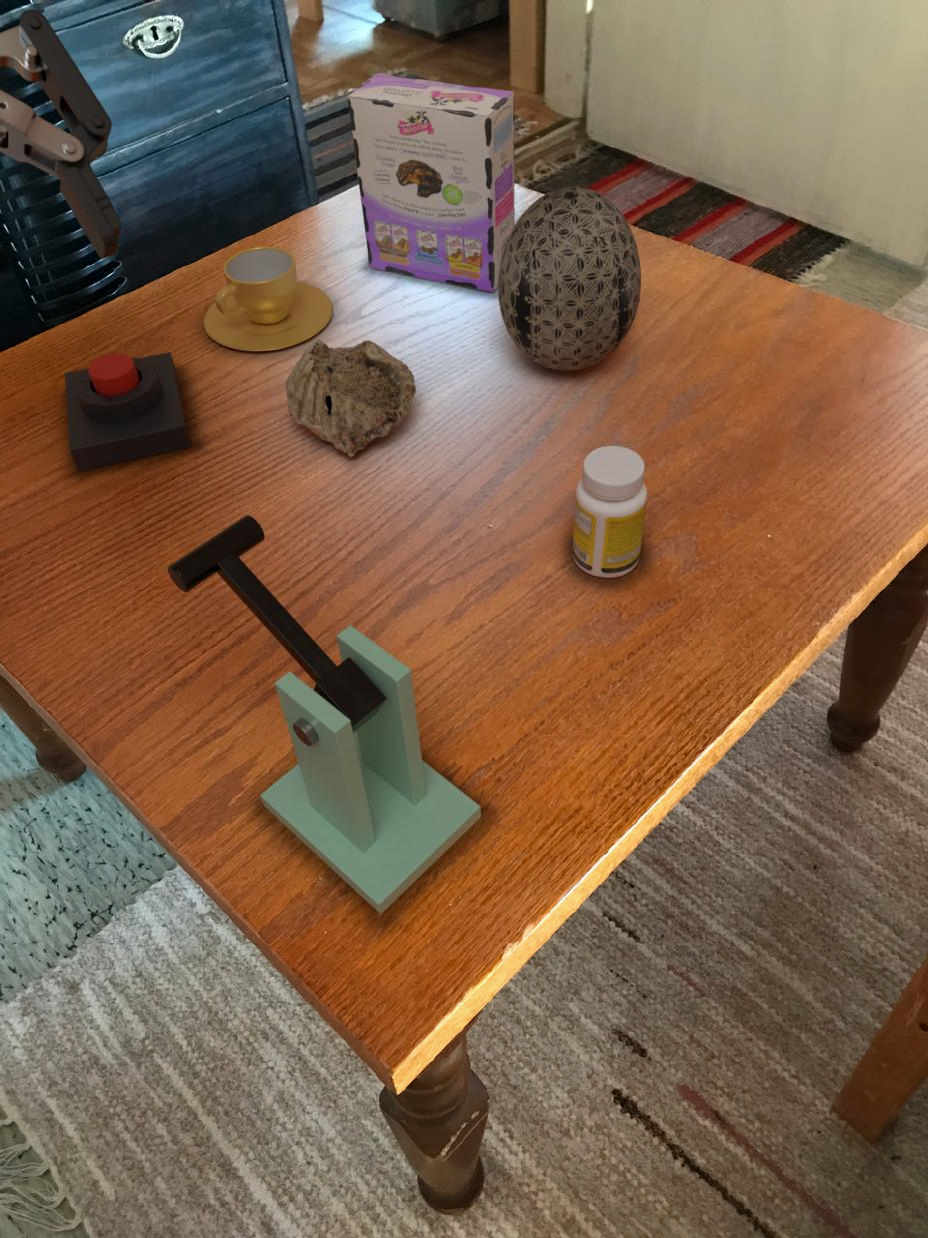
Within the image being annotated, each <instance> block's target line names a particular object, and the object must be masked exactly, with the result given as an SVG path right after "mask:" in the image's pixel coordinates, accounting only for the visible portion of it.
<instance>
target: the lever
mask: <svg viewBox="0 0 928 1238" xmlns="http://www.w3.org/2000/svg"><path fill="white" fill-rule="evenodd" d="M265 538H266V536H265V532H264V529H263V527H262V525H261V524H260V523H259V521H257V520H256V519H255V518H254V517H253V516H252V515H249V514H247V515H244V516H243V517H241V518H240V519H238V520H237V521H235V522H234V523H232V524H231V525H229V526H228V527H226V528H225V529H223V530H221V531H220V532H218V533H217V534H215V535H214V536H212V537H210V538H209V539H207V540H206V541H205V542H203V543H202V544H200V545H199V546H196V547H195V548H194V549H192V550H191V551H190V552H188V553H186V554H185V555H183V556H182V557H180V558H178V559H177V560H176V561H175V562H173V563H171V564H170V565H168V567H167V572H168V575H169V577H170V579H171V580H172V582H173V583H174V585H175V586H176V587H177V588H178V589H179V590H181V591H182V592H183V593H188V592H190V591H192V590H193V589H194V588H197V587H198V586H199V585H200V584H202V583H204V582H205V581H206V580H208V579H210V577H212V576H214V575H215V574H217V575H218V576H219V577H220V578H221V579H222V580H223V581H224V582H225V583H226V584H227V586H228V587H229V588H230V589H231V590H232V592H234V594H235V595H236V596H237V597H238V598H239V599H240V600H241V601H242V603H243V604H244V605H245V606H246V607H247V608H248V609H249V610H250V612H251V613H252V614H253V615H254V616H255V617H256V618H257V619H258V620H259V621H260V623H261V624H262V625H263V626H264V627H265V628H266V629H267V630H268V632H269V633H270V634H271V635H272V636H273V637H274V638H275V640H277V641H278V643H279V644H280V645H281V646H282V647H283V648H284V650H286V652H287V653H288V654H289V655H290V657H292V658H293V660H295V662H296V663H297V664H298V666H300V667H301V668H302V669H303V671H304V672H305V673H306V674H307V675H308V676H309V677H310V678H311V679H312V681H313V682H314V683H315V685H314V687H313V688H312V690H314V691H315V692H316V693H317V694H319V695H320V696H321V697H322V698H324V699H325V700H326V701H327V702H329V703H330V704H331V705H332V706H333V707H335V708H336V709H337V710H338V711H340V712H341V713H342V714H343V715H345V716H346V717H347V718H348V719H350V721H351V726H352V731H353V733H354V732H355V731H357V730H358V729H359V728H360V727H361V726H363V725H364V724H365V723H366V722H367V721H369V720H370V719H371V718H372V717H373V716H374V715H376V714H377V713H378V711H379V710H380V708H381V707H382V705H383V703H384V702H385V700H386V699H387V698H386V697H385V696H384V694H383V693H382V692H381V691H380V690H379V689H378V688H377V687H376V686H375V684H374V683H373V682H372V681H371V680H370V679H369V678H368V677H367V676H366V675H365V673H364V672H363V671H362V670H361V669H360V668H359V667H358V666H357V665H356V663H355V662H354V661H353V660H352V659H351V658H350V657H348V658H347V659H346V660H344V661H343V662H342V661H341V662H340V663H339V664H338V665H337V664H336V663H335V662H334V661H333V660H332V658H330V657H329V656H328V655H327V653H326V652H325V651H324V649H322V648H321V646H320V645H318V643H317V642H316V641H315V640H314V639H313V637H311V636H310V634H309V633H308V632H307V631H306V630H305V629H304V628H303V627H302V626H301V624H299V622H298V621H297V620H296V619H295V618H294V617H293V615H291V613H290V612H289V611H288V610H287V609H286V608H285V606H283V604H282V603H281V602H280V601H279V599H278V598H276V596H275V595H274V594H273V593H272V592H271V591H270V589H268V588H267V587H266V585H264V583H263V582H262V581H261V580H260V579H259V578H258V577H257V576H256V575H255V573H254V572H253V571H252V570H251V569H250V567H248V566H247V564H246V563H245V562H244V561H243V560H242V559H241V558H240V557H241V556H243V555H245V554H246V553H248V552H249V551H251V550H252V549H253V548H255V547H256V546H258V545H260V544H261V543H262V542H263V541H265Z"/></svg>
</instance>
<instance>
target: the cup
mask: <svg viewBox="0 0 928 1238" xmlns="http://www.w3.org/2000/svg"><path fill="white" fill-rule="evenodd" d="M296 263H297V261H296V258H295V256H294V255H293V253H292V252H290V251H289V250H287V249H285V248H281V247H278V246H255V247H251V248H246V249H243V250H241V251H238V252H236V253H234V254H233V255H231V256H230V257H229V258H228V259H226V261H225V262H224V264H223V267H222V272H223V275H224V277H225V280H226V283H227V285H225V286H223V287H222V288H220V289H219V290H218V291H217V293H216V294H215V298H214V302H213V303H212V304H211V306H209V307H208V309H207V310H206V313H205V315H204V318H203V327H204V331H205V332H206V333H207V335H208V336H209V337H210V338H211V339H212V340H213V341H215V342H216V343H218V344H220V345H222V346H224V347H227V348H231V349H234V350H238V351H245V352H246V351H247V352H266V351H274V350H280V349H285V348H288V347H291V346H294V345H298V344H301V343H302V342H304V341H306V340H309V339H310V338H312V337H314V336H315V335H317V334H318V333H319V332H321V331H322V330H323V329H324V328H325V327H326V326H327V325H328V323H329V322H330V320H331V318H332V315H333V309H334V307H333V303H332V301H331V299H330V297H329V296H328V295H327V294H326V292H324V291H323V290H321V289H320V288H318V287H316V286H313V285H312V284H308V283H304V282H301V281H297V264H296Z"/></svg>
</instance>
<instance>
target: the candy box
mask: <svg viewBox="0 0 928 1238" xmlns="http://www.w3.org/2000/svg"><path fill="white" fill-rule="evenodd" d="M347 104H348V105H347V106H348V111H349V118H350V125H351V133H352V139H353V146H354V147H353V148H354V158H355V163H356V174H357V181H358V188H359V196H360V204H361V209H362V218H363V225H364V233H365V241H366V250H367V258H368V261H367V264H368V267H370V268H371V269H375V270H379V271H383V272H390V273H396V274H399V275H403V276H407V277H415V278H420V279H423V280H428V281H432V282H438V283H442V284H443V283H444V284H448V285H454V286H458V287H464V288H469V289H473V290H478V291H482V292H483V291H485V292H489V293H494V291H495V290H496V289H498V280H499V271H500V264H501V259H502V255H503V251H504V248H505V245H506V242H507V240H508V237H509V235H510V233H511V231H512V229H513V227H514V225H515V224H516V221H515V214H516V213H515V194H516V193H515V91H514V90H503V89H495V88H489V87H488V88H487V87H480V86H472V85H464V84H457V83H451V82H443V81H436V80H429V79H428V80H427V79H422V78H414V77H407V76H400V75H393V74H392V75H391V74H385V73H379V72H377V73H376V74H375V75H373V76H371V78H369V79H368V80H367V81H366V82H364V83H363V84H362V85H361V86H359V87H358V88H356V89H355V90H354V91H352V92H351V93H350V94H349V95H347Z"/></svg>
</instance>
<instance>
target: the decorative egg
mask: <svg viewBox="0 0 928 1238" xmlns="http://www.w3.org/2000/svg"><path fill="white" fill-rule="evenodd" d="M641 289H642V269H641V260H640V256H639V250H638V245H637V241H636V238H635V236H634V234H633V231H632V228H631V226H630V225H629V222H628V221H627V219H626V217H625V216H624V214H623V213H622V212H621V210H620V209H619V207H617V206H616V204H615V203H613V202H612V201H611V200H609V199H608V198H607V197H606V196H605V195H603V194H601V193H600V192H598V191H596V190H592V189H590V188H587V187H583V186H565V187H564V186H563V187H560V188H556V189H555V190H551V191H549V192H547V193H545V194H544V195H542V196H540V197H539V198H538V199H536V200H535V201H534V202H533V203H532V204H530V205H529V206H528V208H526V210H524V211H523V213H522V214H521V215H520V217H518V219H517V221H515V225H514V227H513V229H512V231H511V233H510V235H509V237H508V240H507V242H506V245H505V248H504V251H503V255H502V259H501V264H500V271H499V280H498V287H497V291H498V292H497V293H498V305H499V311H500V314H501V318H502V321H503V324H504V327H505V330H506V331H507V334H508V335H509V336H510V338H511V340H512V342H513V343H514V344H515V345H516V346H515V347H517V348H518V349H519V350H520V351H521V352H522V353H523V354H524V355H525V356H526V357H527V358H529V359H531V360H532V361H533V362H534V363H537V364H539V365H541V366H542V367H546V368H549V369H553V370H556V371H577V370H581V369H582V370H583V369H585V368H588V367H591V366H593V365H595V364H597V363H600V362H601V361H603V360H604V359H606V358H607V357H608V356H610V355H611V354H613V352H614V351H615V350H616V349H617V348H618V347H619V346H620V345H621V343H622V342H623V341H624V340H625V338H626V337H627V335H628V334H629V332H630V330H631V329H632V326H633V324H634V321H635V319H636V316H637V312H638V309H639V305H640V299H641V292H642V290H641Z"/></svg>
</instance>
